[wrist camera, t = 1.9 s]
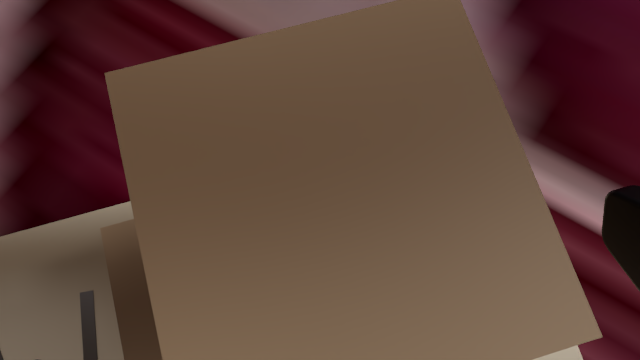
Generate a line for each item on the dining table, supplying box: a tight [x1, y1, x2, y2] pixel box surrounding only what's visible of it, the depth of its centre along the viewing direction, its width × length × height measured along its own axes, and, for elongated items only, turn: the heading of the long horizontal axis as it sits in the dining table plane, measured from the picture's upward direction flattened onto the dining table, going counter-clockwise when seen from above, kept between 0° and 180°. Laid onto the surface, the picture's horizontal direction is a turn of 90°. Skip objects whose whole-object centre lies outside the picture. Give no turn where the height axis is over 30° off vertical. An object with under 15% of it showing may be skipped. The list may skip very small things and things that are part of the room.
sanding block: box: [100, 0, 602, 360], centre depth 10 cm, size 6×10×12 cm, turn 106°
